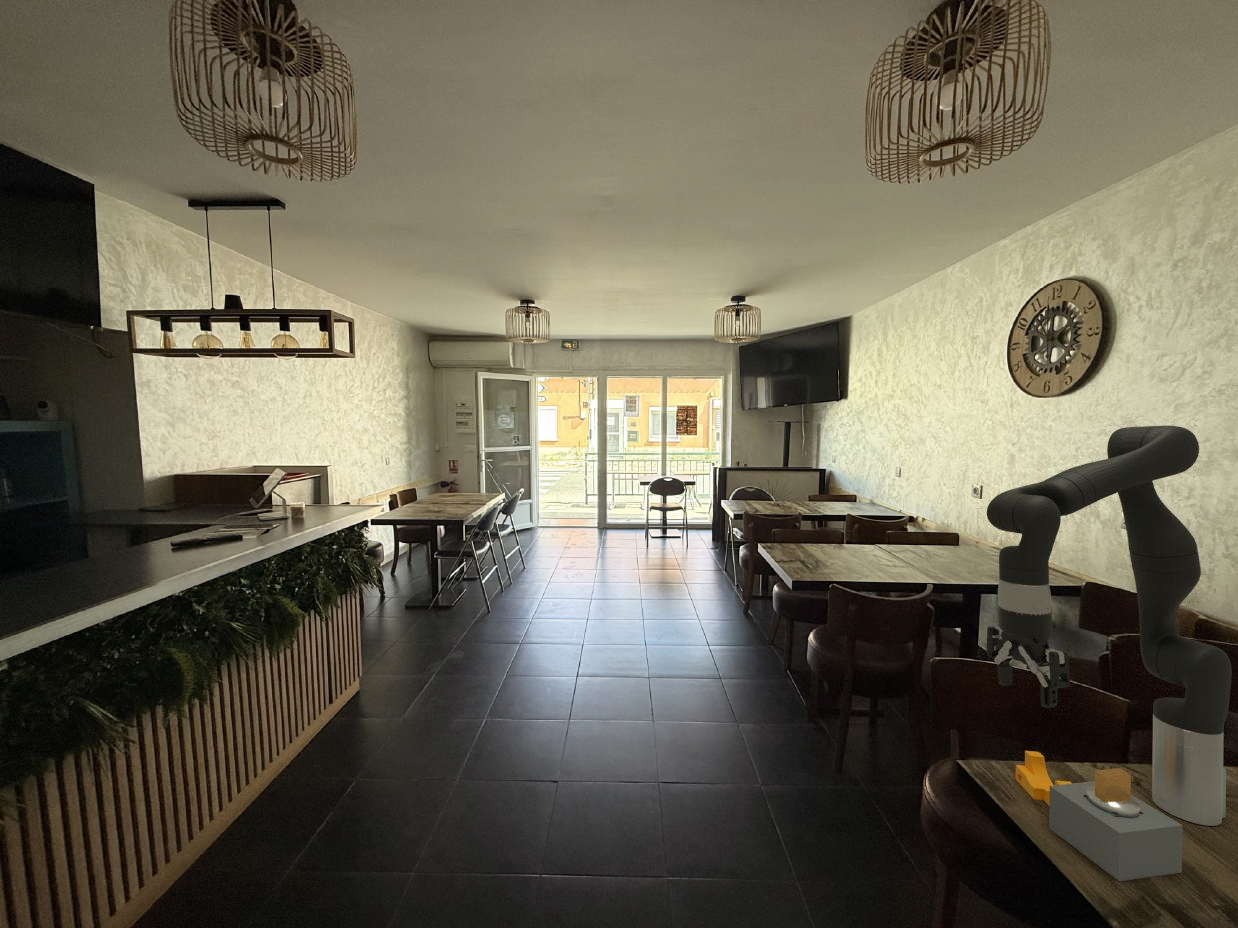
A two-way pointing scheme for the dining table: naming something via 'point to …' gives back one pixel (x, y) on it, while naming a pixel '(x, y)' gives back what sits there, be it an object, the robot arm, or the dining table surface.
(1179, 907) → the dining table surface
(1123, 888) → the dining table surface
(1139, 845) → the bearing housing
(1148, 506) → the robot arm
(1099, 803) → the end cover
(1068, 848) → the dining table surface
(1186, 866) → the dining table surface
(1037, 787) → the pipe clamp
